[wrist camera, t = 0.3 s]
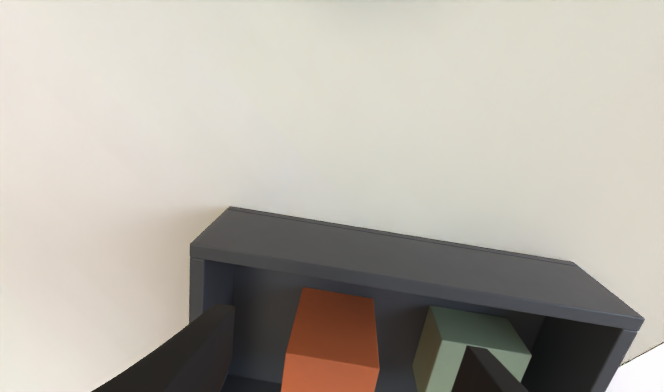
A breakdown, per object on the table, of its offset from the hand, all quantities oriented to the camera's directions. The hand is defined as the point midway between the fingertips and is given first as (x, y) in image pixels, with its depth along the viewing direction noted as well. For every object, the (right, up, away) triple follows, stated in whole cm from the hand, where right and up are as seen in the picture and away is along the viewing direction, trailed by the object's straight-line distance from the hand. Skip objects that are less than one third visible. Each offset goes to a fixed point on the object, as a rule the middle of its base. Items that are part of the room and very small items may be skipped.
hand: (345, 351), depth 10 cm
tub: (+3, -3, +11) cm, 12 cm away
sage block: (+7, -4, +11) cm, 14 cm away
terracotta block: (0, -3, +11) cm, 11 cm away
